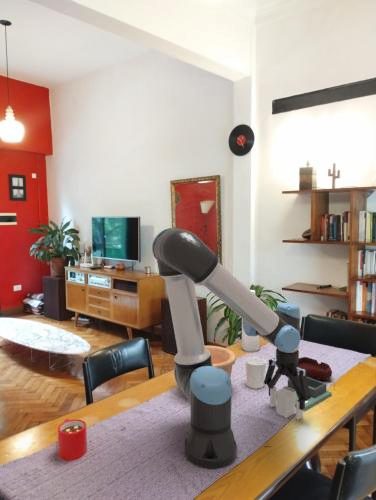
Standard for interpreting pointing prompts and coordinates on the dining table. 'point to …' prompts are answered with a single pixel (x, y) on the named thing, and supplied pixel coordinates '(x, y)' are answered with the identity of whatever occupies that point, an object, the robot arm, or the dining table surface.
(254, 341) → the alcohol
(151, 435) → the dining table surface
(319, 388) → the board
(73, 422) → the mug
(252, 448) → the dining table surface
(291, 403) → the plug
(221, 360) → the pottery
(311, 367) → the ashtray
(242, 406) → the dining table surface
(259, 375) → the white cup
